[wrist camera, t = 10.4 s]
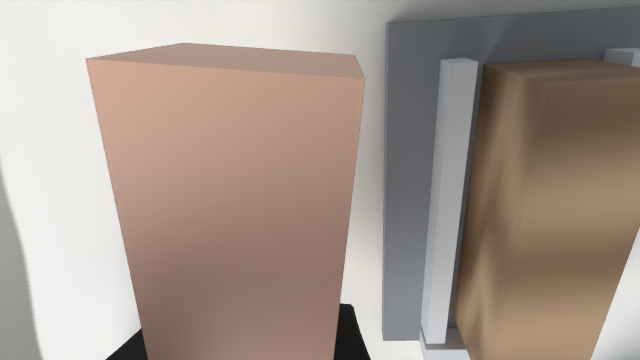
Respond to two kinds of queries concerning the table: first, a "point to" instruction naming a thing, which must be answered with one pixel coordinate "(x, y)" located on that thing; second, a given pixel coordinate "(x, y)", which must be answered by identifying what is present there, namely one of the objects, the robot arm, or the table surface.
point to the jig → (457, 146)
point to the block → (232, 194)
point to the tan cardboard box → (548, 207)
